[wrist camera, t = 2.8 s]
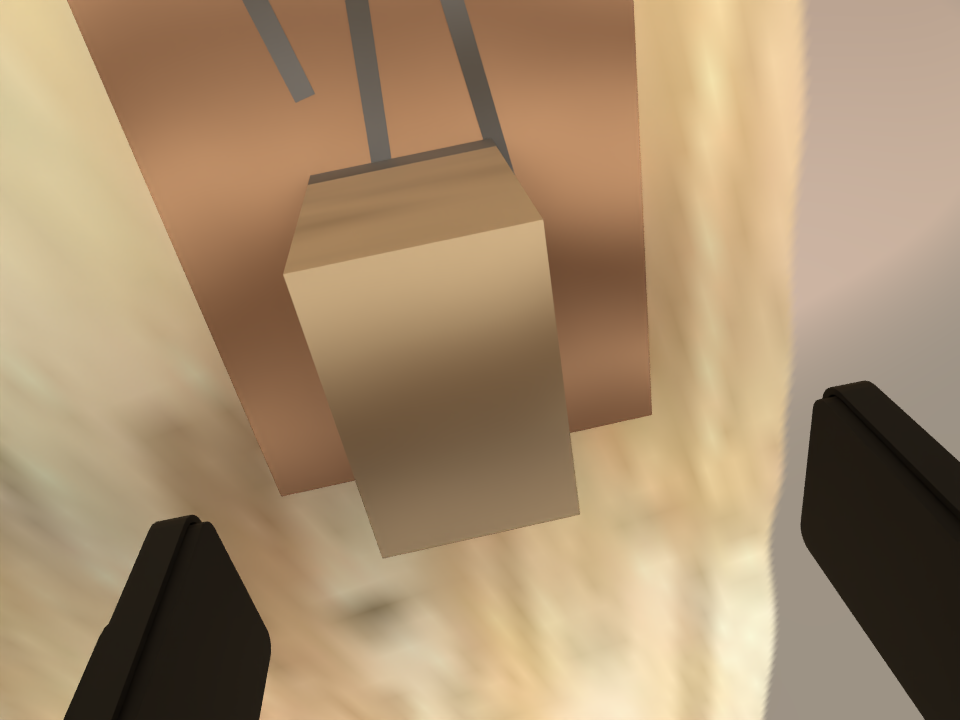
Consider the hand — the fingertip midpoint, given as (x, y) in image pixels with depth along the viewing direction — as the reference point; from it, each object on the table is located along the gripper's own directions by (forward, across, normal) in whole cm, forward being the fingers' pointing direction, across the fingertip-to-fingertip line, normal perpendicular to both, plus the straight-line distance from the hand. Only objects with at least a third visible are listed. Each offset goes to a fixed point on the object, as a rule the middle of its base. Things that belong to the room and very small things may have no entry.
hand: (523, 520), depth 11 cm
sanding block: (+9, +1, 0) cm, 9 cm away
